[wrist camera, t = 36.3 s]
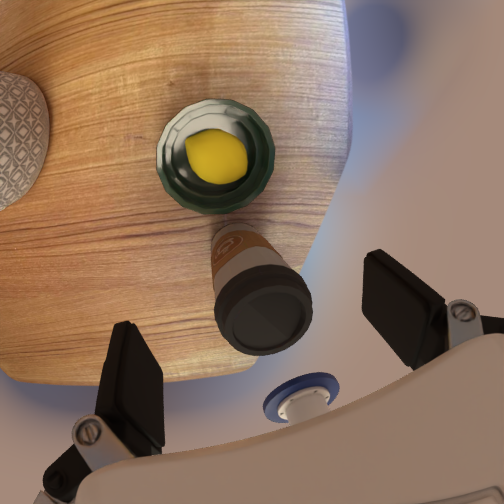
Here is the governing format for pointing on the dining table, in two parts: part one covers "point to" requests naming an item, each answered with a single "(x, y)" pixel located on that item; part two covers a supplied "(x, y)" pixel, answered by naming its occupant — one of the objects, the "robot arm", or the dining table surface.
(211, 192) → the bowl
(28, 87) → the planter
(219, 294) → the coffee cup
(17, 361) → the dining table surface
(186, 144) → the lemon
